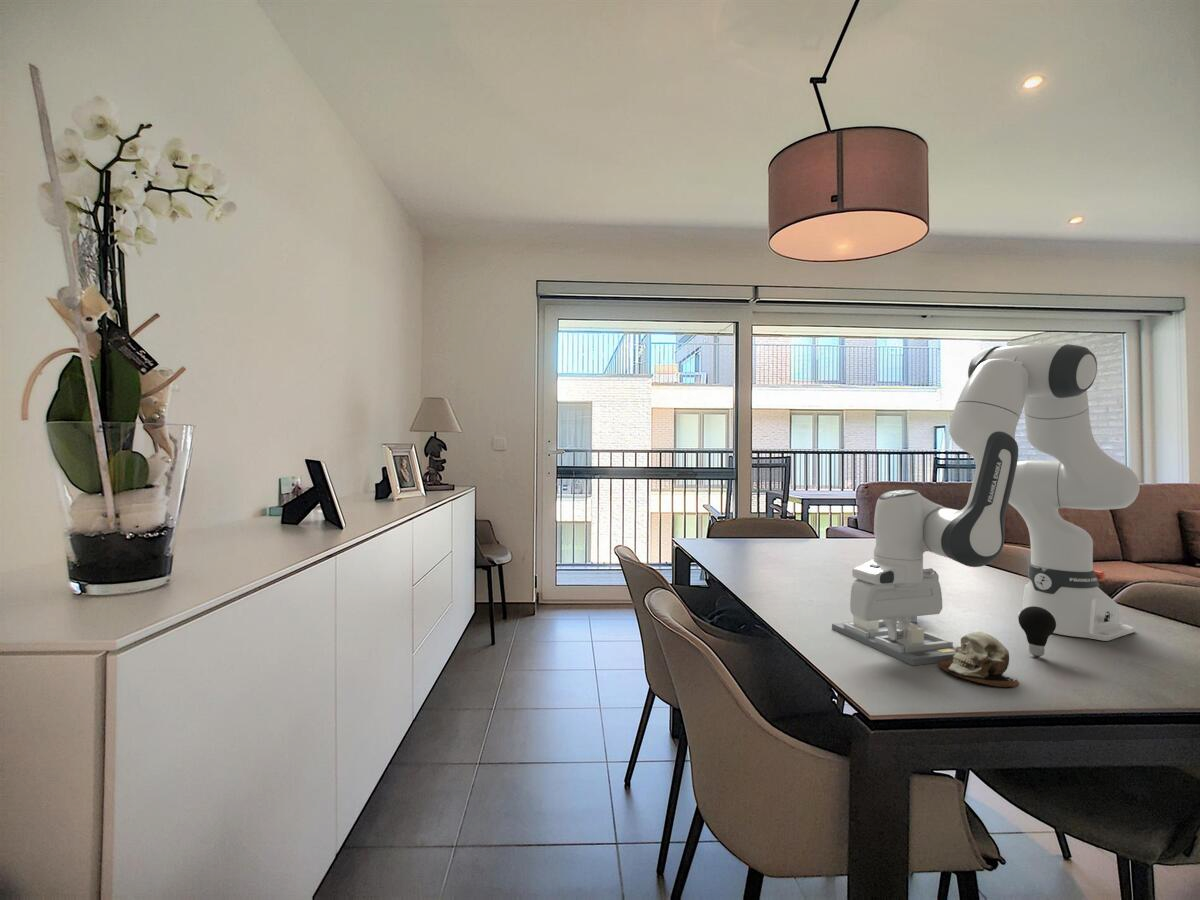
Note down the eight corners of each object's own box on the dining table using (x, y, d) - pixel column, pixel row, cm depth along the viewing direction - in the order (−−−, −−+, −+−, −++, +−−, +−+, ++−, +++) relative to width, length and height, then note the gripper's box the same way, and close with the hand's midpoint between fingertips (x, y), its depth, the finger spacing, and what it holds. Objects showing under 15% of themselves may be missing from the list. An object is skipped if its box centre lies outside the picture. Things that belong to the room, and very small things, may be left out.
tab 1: (864, 627, 122) (864, 608, 122) (878, 633, 118) (878, 613, 118) (853, 628, 121) (853, 609, 121) (867, 634, 117) (867, 614, 117)
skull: (978, 686, 93) (947, 628, 99) (945, 706, 100) (918, 651, 107) (1042, 681, 94) (1007, 624, 101) (1005, 702, 102) (974, 647, 108)
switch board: (831, 629, 125) (832, 619, 125) (881, 624, 129) (881, 614, 129) (912, 665, 104) (912, 654, 104) (968, 658, 108) (969, 647, 108)
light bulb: (1046, 664, 105) (1047, 612, 105) (1011, 654, 110) (1012, 604, 110) (1061, 659, 108) (1062, 609, 108) (1027, 650, 113) (1027, 601, 113)
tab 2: (907, 640, 114) (907, 619, 114) (923, 646, 110) (924, 625, 110) (895, 641, 113) (896, 620, 113) (912, 648, 110) (912, 626, 110)
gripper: (924, 564, 117) (923, 629, 117) (845, 569, 111) (844, 637, 111) (951, 570, 111) (950, 639, 111) (869, 576, 105) (868, 648, 105)
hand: (896, 638), depth 111 cm, fingers closed
